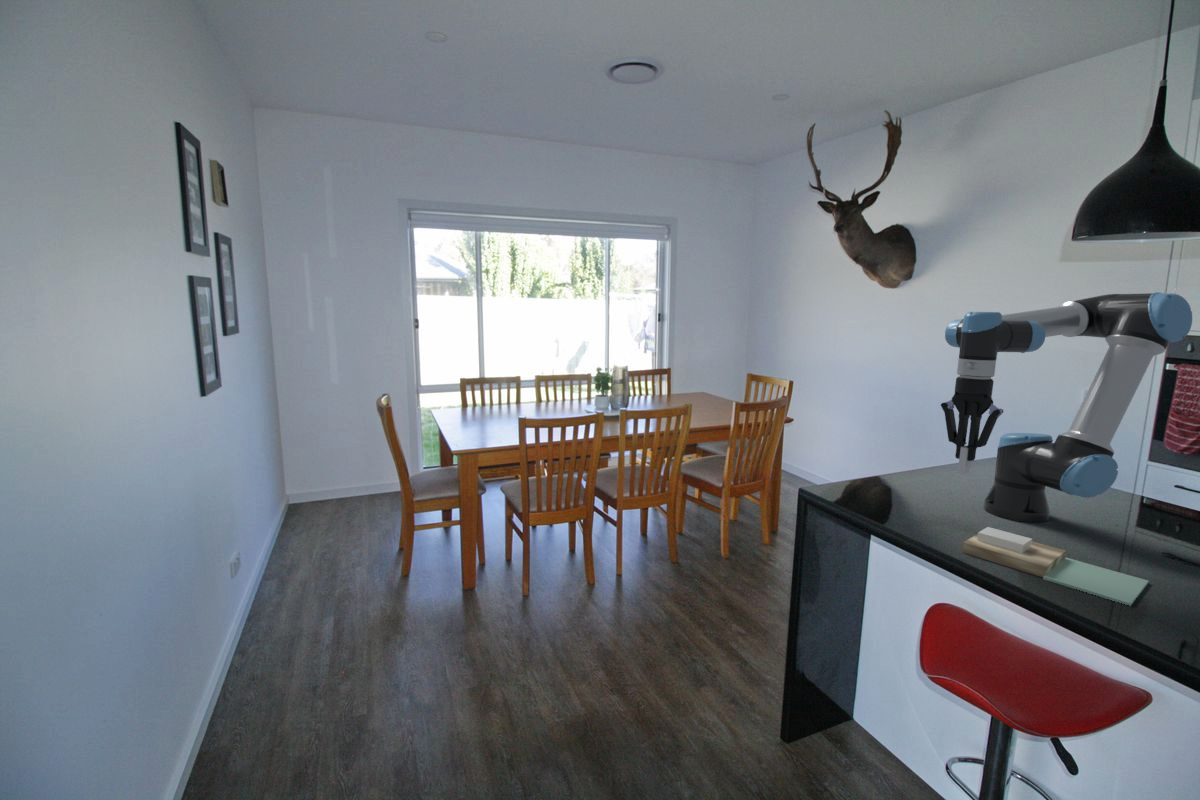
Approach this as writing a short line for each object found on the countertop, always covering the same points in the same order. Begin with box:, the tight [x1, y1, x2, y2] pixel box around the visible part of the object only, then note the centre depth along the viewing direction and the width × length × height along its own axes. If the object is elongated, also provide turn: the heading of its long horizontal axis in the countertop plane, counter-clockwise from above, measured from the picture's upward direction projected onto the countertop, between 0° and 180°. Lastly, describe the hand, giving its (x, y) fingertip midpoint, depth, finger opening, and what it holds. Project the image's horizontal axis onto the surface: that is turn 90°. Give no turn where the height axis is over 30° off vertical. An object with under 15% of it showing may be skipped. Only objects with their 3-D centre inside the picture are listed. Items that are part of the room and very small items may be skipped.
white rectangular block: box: [977, 526, 1033, 553], centre depth 134 cm, size 9×6×2 cm, turn 37°
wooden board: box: [961, 533, 1067, 578], centre depth 132 cm, size 14×16×2 cm
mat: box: [1042, 557, 1149, 607], centre depth 121 cm, size 16×14×1 cm
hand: (963, 472), depth 139 cm, fingers closed
